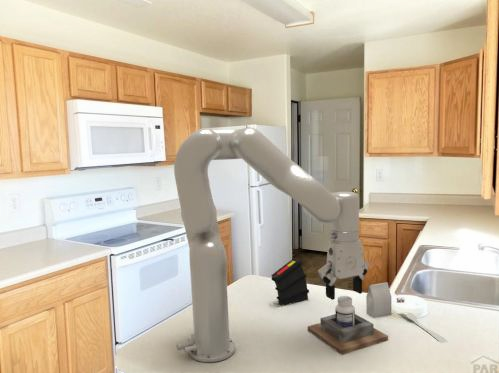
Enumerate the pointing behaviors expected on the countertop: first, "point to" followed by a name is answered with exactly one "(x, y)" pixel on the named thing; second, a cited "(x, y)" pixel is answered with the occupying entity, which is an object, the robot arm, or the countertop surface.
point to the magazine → (291, 283)
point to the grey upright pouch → (378, 300)
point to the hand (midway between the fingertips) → (344, 295)
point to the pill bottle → (345, 312)
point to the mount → (347, 334)
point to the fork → (435, 335)
